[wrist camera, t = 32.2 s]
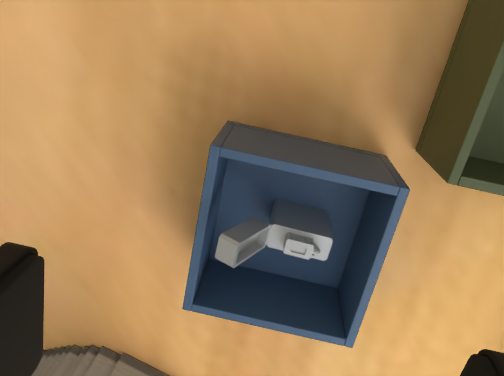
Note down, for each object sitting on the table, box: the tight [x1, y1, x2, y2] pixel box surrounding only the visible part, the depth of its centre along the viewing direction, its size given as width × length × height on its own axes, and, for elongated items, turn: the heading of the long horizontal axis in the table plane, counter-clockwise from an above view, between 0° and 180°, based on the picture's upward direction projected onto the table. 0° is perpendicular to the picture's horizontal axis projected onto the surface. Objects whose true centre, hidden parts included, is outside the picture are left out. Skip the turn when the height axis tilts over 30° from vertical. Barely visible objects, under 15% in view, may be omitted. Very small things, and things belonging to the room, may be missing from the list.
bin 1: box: [183, 121, 410, 348], centre depth 30 cm, size 12×12×7 cm
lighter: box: [215, 199, 333, 268], centre depth 28 cm, size 7×2×8 cm, turn 77°
